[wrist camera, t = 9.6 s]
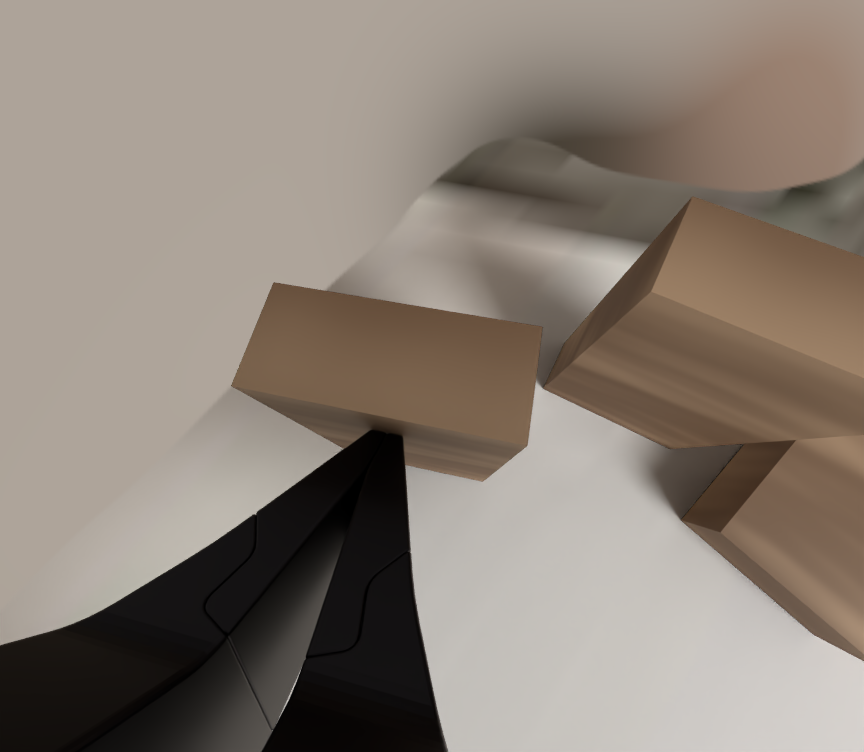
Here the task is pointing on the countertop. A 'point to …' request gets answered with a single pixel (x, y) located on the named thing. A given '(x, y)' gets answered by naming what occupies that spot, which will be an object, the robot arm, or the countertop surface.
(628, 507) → the countertop surface
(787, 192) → the countertop surface
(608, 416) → the light brown wooden block
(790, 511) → the wooden block
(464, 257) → the countertop surface
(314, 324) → the tile two
